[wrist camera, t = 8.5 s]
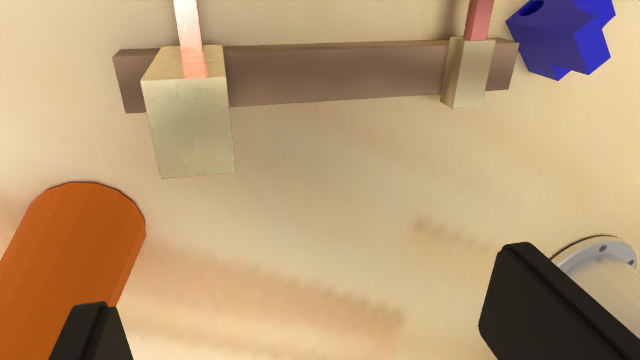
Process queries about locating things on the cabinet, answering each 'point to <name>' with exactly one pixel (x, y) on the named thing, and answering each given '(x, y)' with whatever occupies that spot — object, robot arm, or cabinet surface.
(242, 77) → the beam
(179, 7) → the slider
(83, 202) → the spray bottle
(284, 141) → the cabinet surface
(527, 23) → the cable clip
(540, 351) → the robot arm
